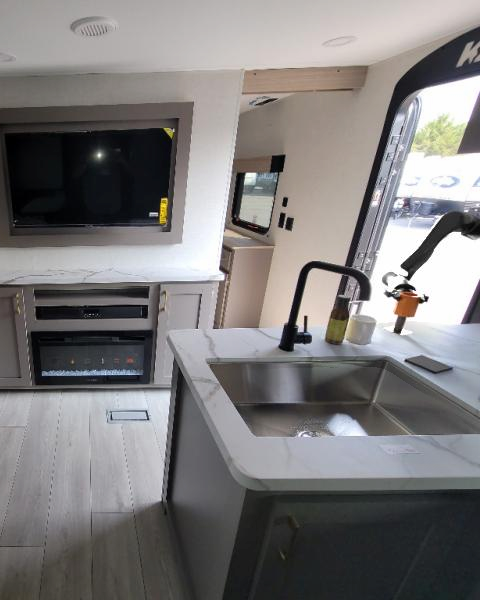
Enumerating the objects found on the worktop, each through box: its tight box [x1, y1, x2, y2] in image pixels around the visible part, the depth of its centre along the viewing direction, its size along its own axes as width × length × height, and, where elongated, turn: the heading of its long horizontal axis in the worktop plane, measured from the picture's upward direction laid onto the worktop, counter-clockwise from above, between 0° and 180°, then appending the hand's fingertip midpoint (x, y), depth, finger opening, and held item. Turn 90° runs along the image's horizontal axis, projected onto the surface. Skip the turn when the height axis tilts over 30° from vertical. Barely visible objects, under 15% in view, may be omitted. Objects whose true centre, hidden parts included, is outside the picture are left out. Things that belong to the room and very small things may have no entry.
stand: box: [382, 315, 413, 336], centre depth 138 cm, size 7×7×13 cm
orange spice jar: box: [392, 292, 421, 318], centre depth 136 cm, size 6×6×9 cm
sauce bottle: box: [324, 294, 351, 345], centre depth 132 cm, size 7×6×20 cm
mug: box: [344, 313, 378, 346], centre depth 132 cm, size 12×8×10 cm
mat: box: [404, 354, 454, 375], centre depth 117 cm, size 9×9×1 cm
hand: (410, 300), depth 133 cm, fingers closed on orange spice jar, 6 cm apart
